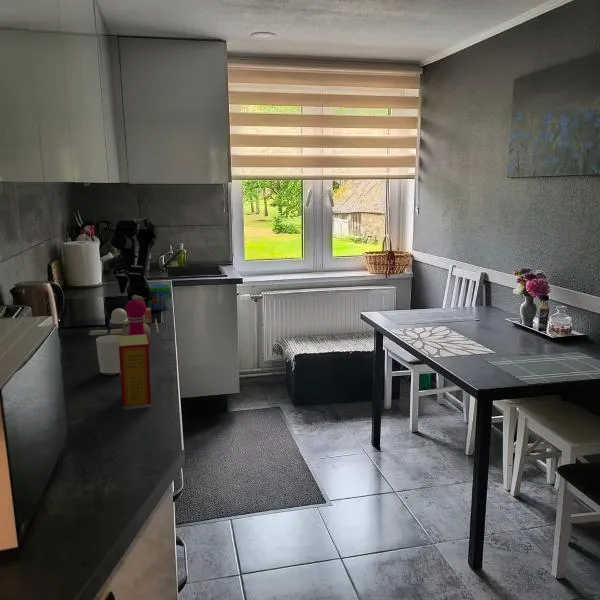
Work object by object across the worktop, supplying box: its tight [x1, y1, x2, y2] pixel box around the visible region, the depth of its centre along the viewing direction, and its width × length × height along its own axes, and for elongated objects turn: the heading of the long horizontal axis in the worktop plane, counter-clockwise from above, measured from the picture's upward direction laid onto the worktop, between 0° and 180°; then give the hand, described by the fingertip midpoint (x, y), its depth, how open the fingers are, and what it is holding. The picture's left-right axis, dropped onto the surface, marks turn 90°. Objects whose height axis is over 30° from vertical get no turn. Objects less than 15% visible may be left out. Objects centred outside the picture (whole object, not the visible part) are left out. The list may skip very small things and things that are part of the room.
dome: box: [109, 307, 129, 324], centre depth 201 cm, size 7×7×6 cm
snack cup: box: [148, 283, 172, 311], centre depth 234 cm, size 16×11×10 cm
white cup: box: [95, 334, 122, 373], centre depth 152 cm, size 8×8×10 cm
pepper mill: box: [124, 295, 151, 348], centre depth 163 cm, size 7×7×20 cm
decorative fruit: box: [120, 321, 151, 339], centre depth 175 cm, size 9×8×10 cm
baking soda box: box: [118, 334, 152, 408], centre depth 131 cm, size 10×6×16 cm
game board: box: [88, 318, 160, 336], centre depth 199 cm, size 20×25×2 cm
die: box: [145, 307, 153, 324], centre depth 206 cm, size 5×5×5 cm
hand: (126, 293), depth 205 cm, fingers open, 9 cm apart
